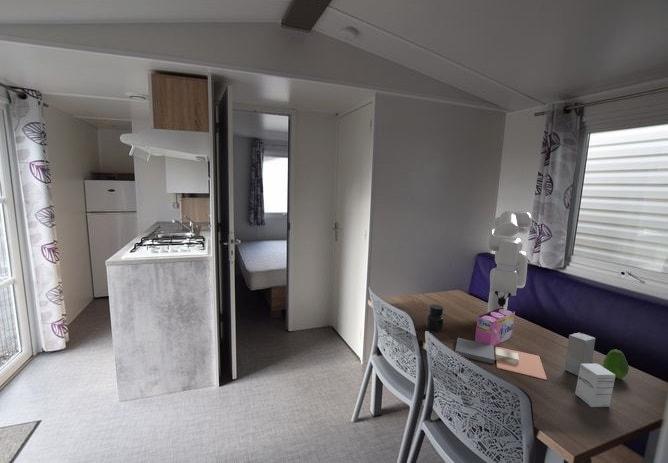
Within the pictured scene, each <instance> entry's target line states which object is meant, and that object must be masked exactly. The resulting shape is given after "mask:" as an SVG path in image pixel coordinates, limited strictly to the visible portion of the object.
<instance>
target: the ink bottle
mask: <svg viewBox="0 0 668 463" xmlns="http://www.w3.org/2000/svg"><path fill="white" fill-rule="evenodd" d="M425 323H426V324H425V327H426V329H428V330H429V331H433V332H442V331H443V330H444V326H445V316H444V306H442V305H440V304H434V303H433V304H430V306H429V312H428V314H427V315H426V322H425Z"/></svg>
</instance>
